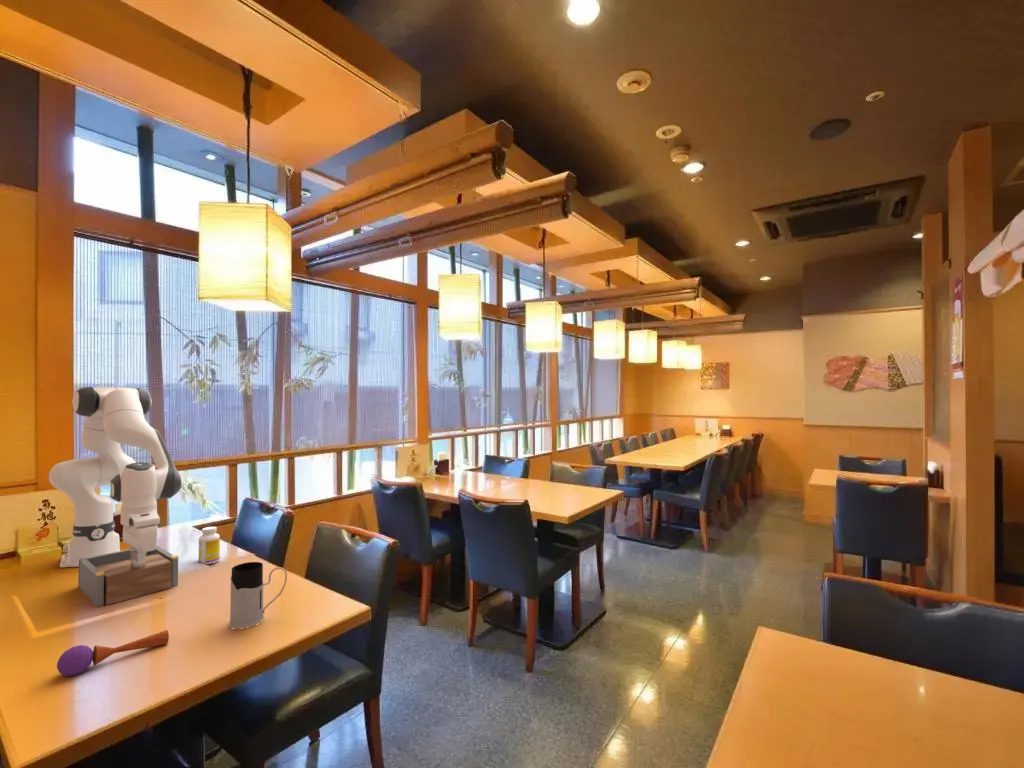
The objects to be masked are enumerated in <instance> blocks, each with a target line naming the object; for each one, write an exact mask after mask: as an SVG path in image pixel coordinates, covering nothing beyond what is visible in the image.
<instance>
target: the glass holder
mask: <svg viewBox="0 0 1024 768" xmlns="http://www.w3.org/2000/svg"><path fill="white" fill-rule="evenodd" d="M275 570H283V572H284V575H285V576H284V578H285V579H284V584H283V586H282V589H280V591H279V593H278V594H277V595H276V596H275V597H274V598H273V599H272V600H271V601H270V602H268V603H267V604H266V605H265V606H264V586H267V585H269V584H270V583H271V576H272V574H273V573H274V572H275ZM263 572H264V565H263V563H262V562H261V561H249V562H248V561H247V562H244V563H240V564H237V565H234V566H233V567H232V568H231V577H230V609H229V610H230V612H229V613H230V615H229V616H230V619H229V623H228V626H229V627H230V628H234V629H241V628H247V627H251V626H254V625H256V624H258V623H260V622H261V621H262V620H263V619H264V617H265V615H264V614H265V610H266V609H267V608H268V607H269V606H270V605H271V604H272V603H273V602H274V601H275V600H277V598H278V597H279V596H280V595H282V593H283V591H284V589H285V587H286V583H287V579H288V577H287V576H288V573H287V571H286V569H285V568H283V567H279V566H277V567H275V568H273V569H272V570H271V571H270V572H269V576H268V582H266V583H264V581H263V580H264V579H263V577H264V575H263V574H264V573H263ZM228 626H227V627H228ZM229 627H228V628H229ZM254 627H255V626H254ZM230 628H229V629H230ZM251 628H252V627H251ZM234 629H233V630H234Z"/></svg>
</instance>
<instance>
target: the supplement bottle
mask: <svg viewBox="0 0 1024 768" xmlns="http://www.w3.org/2000/svg"><path fill="white" fill-rule="evenodd" d="M217 529H218V527H217V526H207V527H204V528H202V529H201V533H202V534H201V535H200V536H199V537H198V562H199V563H201V564H203V565H205V564H211V563H214V562H217V561H218V562H220V553H221V552H220V547H221V544H220V542H221V541H220V538H221V537H220V534H219V533H217ZM218 562H217V563H218ZM214 564H215V563H214ZM211 565H212V564H211Z"/></svg>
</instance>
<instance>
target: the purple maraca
mask: <svg viewBox="0 0 1024 768" xmlns="http://www.w3.org/2000/svg"><path fill="white" fill-rule="evenodd" d="M169 638H170V634H169V631H168V629H166V630H163V631H160V632H157V633H154V634H151V635H148V636H145V637H143V638H140V639H136V640H134V641H131V642H128V643H126V644H123V645H120V646H116V647H109V646H102V645H101V646H100V645H94V647H93V649H92V648H91V647H90V646H88V645H83V644H80V645H79V644H78V645H75V646H72V647H70V648H69V649H66V650H65V651H64V652H63V653H61V655H60V656H59V658H58V661H57V662H56V663H57V664H56V669H57V671H58V673H59V674H61V675H62V676H64V677H66V676H67V677H73V676H76V675H79V674H81V673H84V672H85V671H86V670H87V669H88V668H89V667H90V666H91V664H92V665H93V666H94V667H95V666H96V665H98V664H99V663H101V662H103V661H104V660H106V659H107V658H110V656H112V655H114V654H116V653H117V654H118V653H122V652H128V651H129V652H130V651H134V650H140V649H141V650H143V649H147V648H152V647H153V648H154V647H160V646H164V645H165V646H166V645H168V644H169V640H170V639H169Z"/></svg>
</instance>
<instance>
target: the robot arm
mask: <svg viewBox="0 0 1024 768" xmlns="http://www.w3.org/2000/svg"><path fill="white" fill-rule="evenodd" d="M71 402H72V403H71V404H72V408H73V411H74V412H75V414H77V415H78V416H81V417H84V421H83V426H82V432H81V433H82V434H81V440H80V443H81V446H82V447H83V448H85V450H88V451H91V452H93V453H96V454H98V455H97V457H95V456H94V457H89V458H77V459H76V458H74V459H70V460H65V461H61V462H59V463H58V462H57V463H55V464H54V466H52V468H51V469H50V471H49V474H48V480H49V483H50V484H51V485H52V487H53V488H55V489H57V490H59V491H61V492H62V493H64V494H65V495H67V496H68V498H69V499H70V500H71V502H72V505H73V510H74V511H73V512H74V525H73V526H72V527H73V528H72V530H71V531H72V537H71V539H70V540H69V542H68V543H67V544H66V545H63V546H62V547H63V549H62V552H63V553H64V554H63V555H62V556H61V559H60V563H59V568H68V567H69V568H71V567H72V568H73V567H75V568H76V567H78V568H79V559H83V558H88V557H93V556H98V555H103V554H108V553H113V552H118V551H122V550H121V549H120V543H121V542H120V534H119V533H118V532H116V531H115V529H116V528H115V526H116V523H115V520H114V502H113V500H114V501H115V502H117V503H121V506H120V525H122V527H123V528H122V542H123V543H125V544H126V545H128V546H129V549H130V550H131V551H133V550H137V553H138V555H137V559H136V560H137V561H136V562H137V563H138V564H141V563H144V562H145V556H146V553H147V552H149V551H153V550H155V547H156V545H157V542H158V530H159V529H158V525H159V524H161V523H160V522H161V518H160V515H159V514H158V503H157V499H158V500H162V499H171V498H172V497H174V496H175V495H177V494H178V492H179V491H181V489H182V477H181V474H180V472H179V471H178V469H177V467H176V465H175V464H174V461H173V459H172V457H171V455H170V453H169V450H168V447H167V445H166V443H165V440H164V438H163V437H162V434H161V433H160V431H159V430H158V429H157V428H154V427H153V426H151V425H150V424H149V423H148V422H147V420H146V419H145V418H146V417H145V415H146V414H148V412H150V410H151V407H152V403H153V401H152V397H151V394H150V392H149V391H148V390H147V389H143V388H138V387H137V388H133V387H125V386H97V387H93V386H86V387H80V388H79V389H77V390H76V391H75V393H74V395H73V398H72V401H71ZM122 445H126V446H131V447H137V448H140V449H143V450H145V451H147V452H148V453H150V455H151V457H152V459H153V460H152V461H153V462H154V464H153V463H151V462H144V461H142V462H141V461H140V462H136V461H135V460H134V458H133V457H131V456H130V455H127V454H126V453H125V452H124V451H123V449H122V447H121V446H122ZM109 485H110V494H109V497H108V496H105V495H102V494H99V493H96V491H95V488H96V487H102V486H109Z"/></svg>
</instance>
